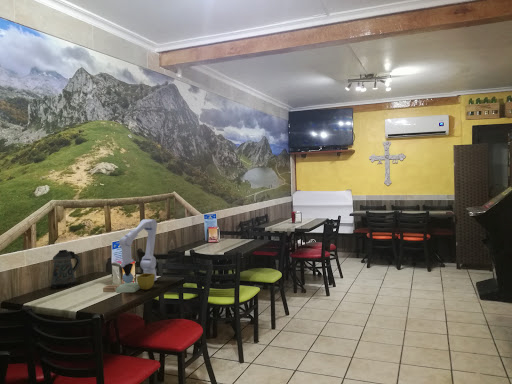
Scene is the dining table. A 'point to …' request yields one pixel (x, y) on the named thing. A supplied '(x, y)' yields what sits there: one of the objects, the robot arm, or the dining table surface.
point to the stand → (110, 288)
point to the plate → (128, 278)
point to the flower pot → (145, 280)
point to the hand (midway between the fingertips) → (128, 275)
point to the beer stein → (64, 269)
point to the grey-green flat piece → (128, 287)
